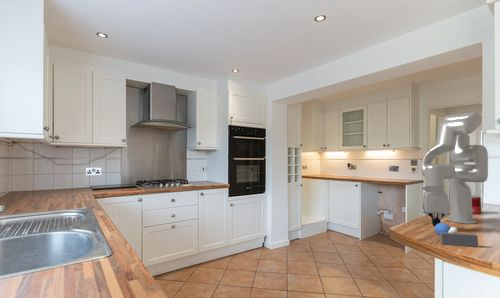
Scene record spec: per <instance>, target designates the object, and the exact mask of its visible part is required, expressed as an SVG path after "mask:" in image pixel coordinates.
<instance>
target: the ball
mask: <svg viewBox="0 0 500 298" xmlns="http://www.w3.org/2000/svg"><path fill="white" fill-rule="evenodd" d="M450 228H451V227H450V225H448V224H447V223H444V222H440V223H438V224H437V225H436V226H435V227H434V231H435V234H437V235H438V236H440V232H446V233H448V231H449V230H450Z"/></svg>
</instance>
